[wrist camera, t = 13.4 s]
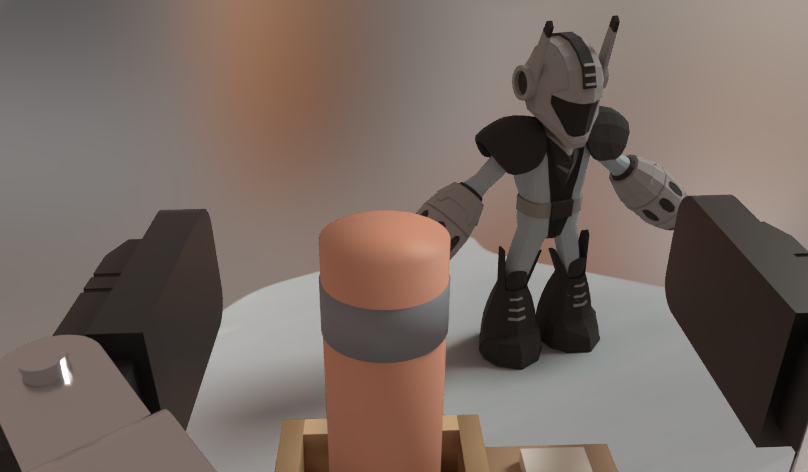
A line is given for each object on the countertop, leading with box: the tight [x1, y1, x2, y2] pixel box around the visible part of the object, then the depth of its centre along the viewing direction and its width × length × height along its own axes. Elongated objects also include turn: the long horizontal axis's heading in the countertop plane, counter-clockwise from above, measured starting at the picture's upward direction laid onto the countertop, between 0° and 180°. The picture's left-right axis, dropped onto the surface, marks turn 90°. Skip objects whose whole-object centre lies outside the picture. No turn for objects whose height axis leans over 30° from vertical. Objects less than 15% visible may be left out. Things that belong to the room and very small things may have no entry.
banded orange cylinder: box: [319, 210, 450, 472], centre depth 27 cm, size 4×4×14 cm
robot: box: [416, 16, 687, 369], centre depth 41 cm, size 20×5×20 cm, turn 112°
